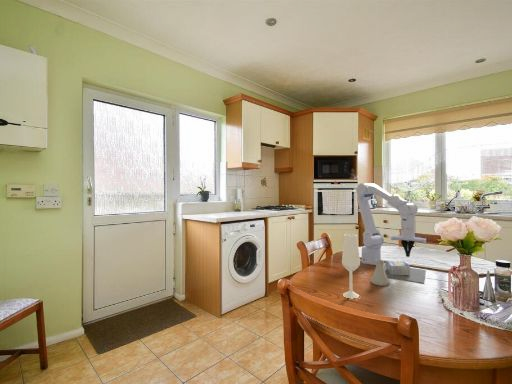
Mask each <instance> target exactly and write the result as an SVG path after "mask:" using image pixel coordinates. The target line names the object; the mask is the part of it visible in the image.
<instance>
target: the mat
mask: <svg viewBox="0 0 512 384" xmlns="http://www.w3.org/2000/svg"><path fill="white" fill-rule="evenodd" d="M383 267H384V271H385V273H386V276H387V278H388V279H394V280H399V281H405V282H410V283H411V282H412V283H418V284H423V285H424V284H425V278H426V272H427V271H426V269H421V268H414V267H410V275H391V274H390V273H389V272H388V271H387V270H386V263H385V264H384V265H383Z"/></svg>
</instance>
